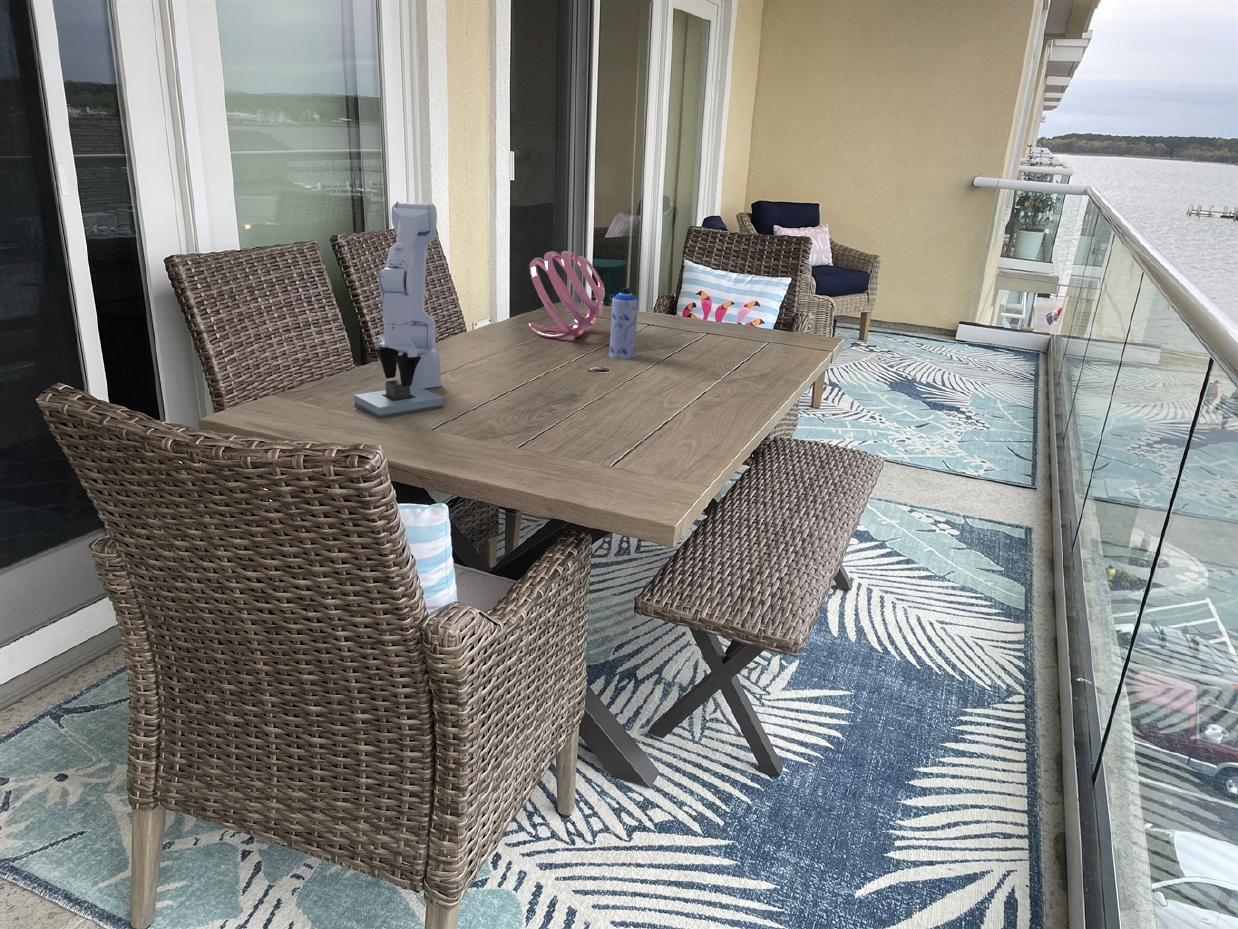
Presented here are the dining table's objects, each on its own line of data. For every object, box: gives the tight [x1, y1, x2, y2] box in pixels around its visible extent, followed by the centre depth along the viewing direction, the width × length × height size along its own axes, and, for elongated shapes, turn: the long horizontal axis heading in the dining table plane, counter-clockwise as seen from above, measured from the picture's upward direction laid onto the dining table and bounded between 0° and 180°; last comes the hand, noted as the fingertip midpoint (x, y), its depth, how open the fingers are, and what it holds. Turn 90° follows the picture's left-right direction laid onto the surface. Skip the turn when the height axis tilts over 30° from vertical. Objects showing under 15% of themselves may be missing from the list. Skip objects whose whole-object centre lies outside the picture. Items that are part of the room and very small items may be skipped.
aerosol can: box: [608, 287, 639, 360], centre depth 264 cm, size 8×8×20 cm
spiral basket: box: [528, 250, 606, 340], centre depth 286 cm, size 28×28×27 cm
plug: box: [385, 378, 410, 401], centre depth 205 cm, size 4×4×5 cm
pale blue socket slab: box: [354, 386, 444, 419], centre depth 206 cm, size 16×12×2 cm
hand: (398, 381), depth 205 cm, fingers open, 7 cm apart
